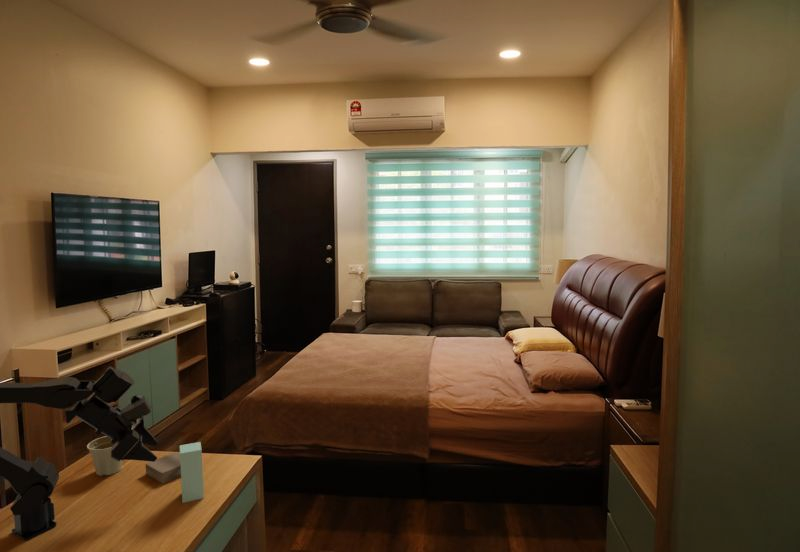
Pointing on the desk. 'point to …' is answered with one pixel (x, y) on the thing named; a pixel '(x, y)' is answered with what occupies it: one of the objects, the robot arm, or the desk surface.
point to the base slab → (165, 468)
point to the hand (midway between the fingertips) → (156, 451)
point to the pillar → (191, 472)
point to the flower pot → (103, 456)
